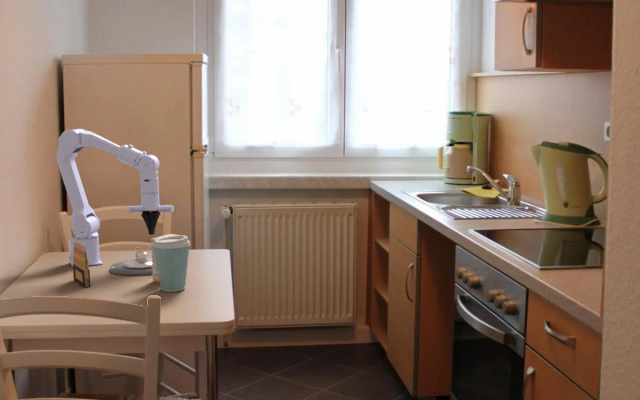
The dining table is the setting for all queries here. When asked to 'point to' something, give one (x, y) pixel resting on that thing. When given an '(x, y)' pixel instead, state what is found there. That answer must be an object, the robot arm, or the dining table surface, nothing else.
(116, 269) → the dial base
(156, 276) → the supplement box
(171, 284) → the disposable coffee cup
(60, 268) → the dining table surface
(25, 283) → the dining table surface
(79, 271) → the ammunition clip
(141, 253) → the dial
